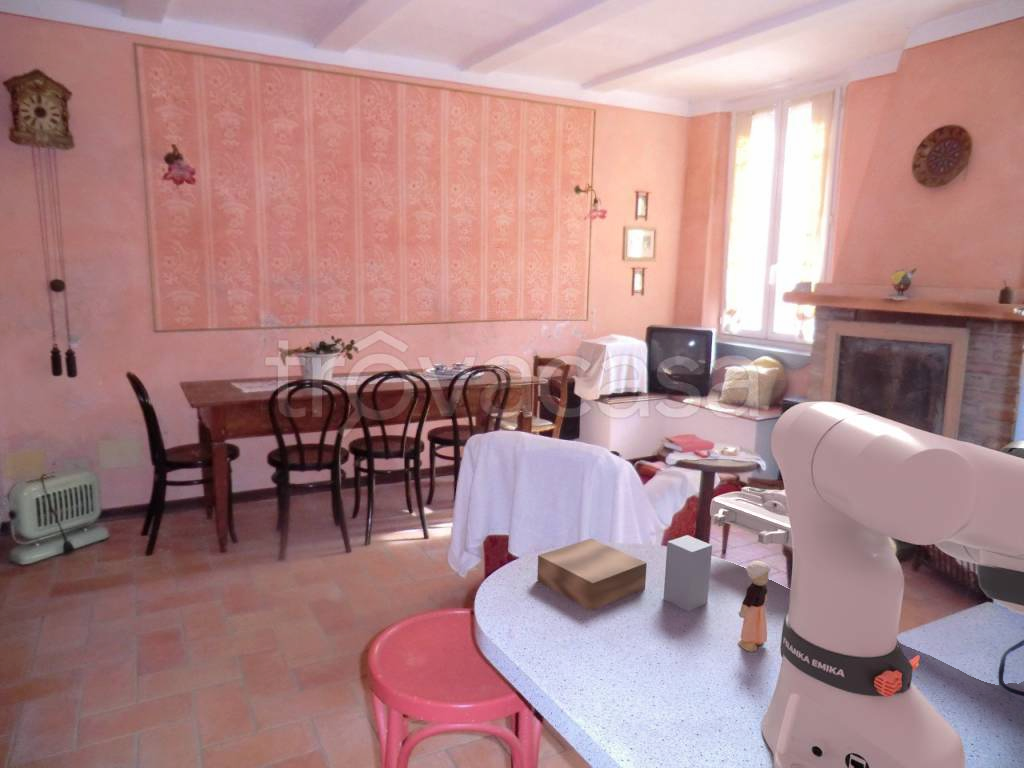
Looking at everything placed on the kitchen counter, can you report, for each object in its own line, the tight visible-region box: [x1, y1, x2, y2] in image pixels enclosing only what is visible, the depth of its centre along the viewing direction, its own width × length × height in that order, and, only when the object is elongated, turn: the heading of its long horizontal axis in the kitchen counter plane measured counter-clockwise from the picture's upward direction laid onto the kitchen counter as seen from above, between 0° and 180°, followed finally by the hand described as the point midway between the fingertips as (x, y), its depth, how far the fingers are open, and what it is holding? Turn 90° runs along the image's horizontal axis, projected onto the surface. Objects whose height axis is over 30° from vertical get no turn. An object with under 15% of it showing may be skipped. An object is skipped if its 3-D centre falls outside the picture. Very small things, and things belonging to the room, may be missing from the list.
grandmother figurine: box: [737, 560, 771, 653], centre depth 100 cm, size 8×4×13 cm, turn 147°
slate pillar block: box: [663, 534, 713, 612], centre depth 112 cm, size 5×5×10 cm
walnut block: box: [536, 538, 648, 612], centre depth 117 cm, size 13×13×5 cm
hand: (737, 529), depth 120 cm, fingers open, 8 cm apart
